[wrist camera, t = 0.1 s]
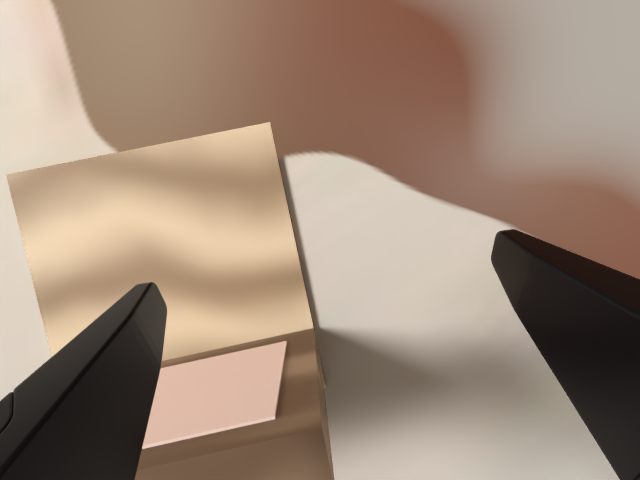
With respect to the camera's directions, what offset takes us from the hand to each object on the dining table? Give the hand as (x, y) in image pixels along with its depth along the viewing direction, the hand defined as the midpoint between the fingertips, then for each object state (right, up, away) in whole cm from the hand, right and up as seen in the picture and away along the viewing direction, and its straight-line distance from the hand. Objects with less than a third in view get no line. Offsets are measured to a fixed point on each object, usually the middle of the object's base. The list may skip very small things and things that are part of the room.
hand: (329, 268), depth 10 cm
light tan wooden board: (-10, -2, +15) cm, 18 cm away
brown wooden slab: (-8, -8, +15) cm, 18 cm away
